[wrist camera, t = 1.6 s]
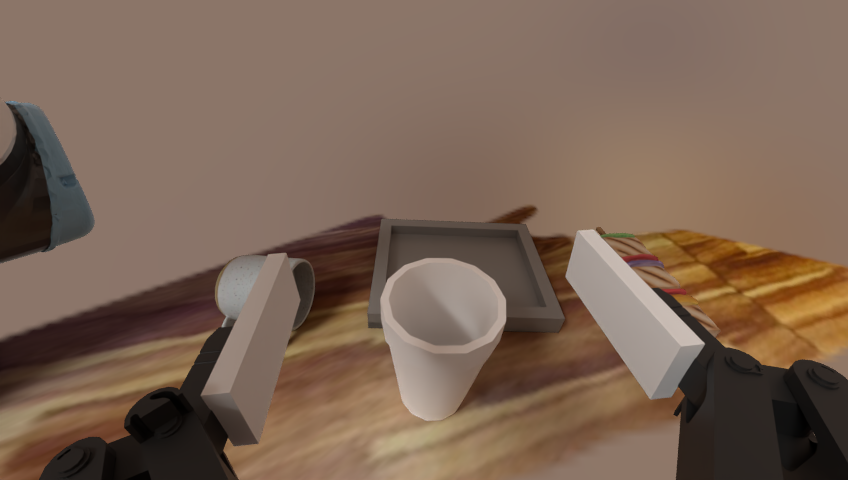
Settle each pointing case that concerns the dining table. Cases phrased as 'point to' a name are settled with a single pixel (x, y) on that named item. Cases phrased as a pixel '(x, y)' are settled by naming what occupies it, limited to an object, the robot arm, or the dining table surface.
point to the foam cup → (440, 331)
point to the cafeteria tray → (477, 245)
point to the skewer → (655, 273)
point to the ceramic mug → (241, 279)
